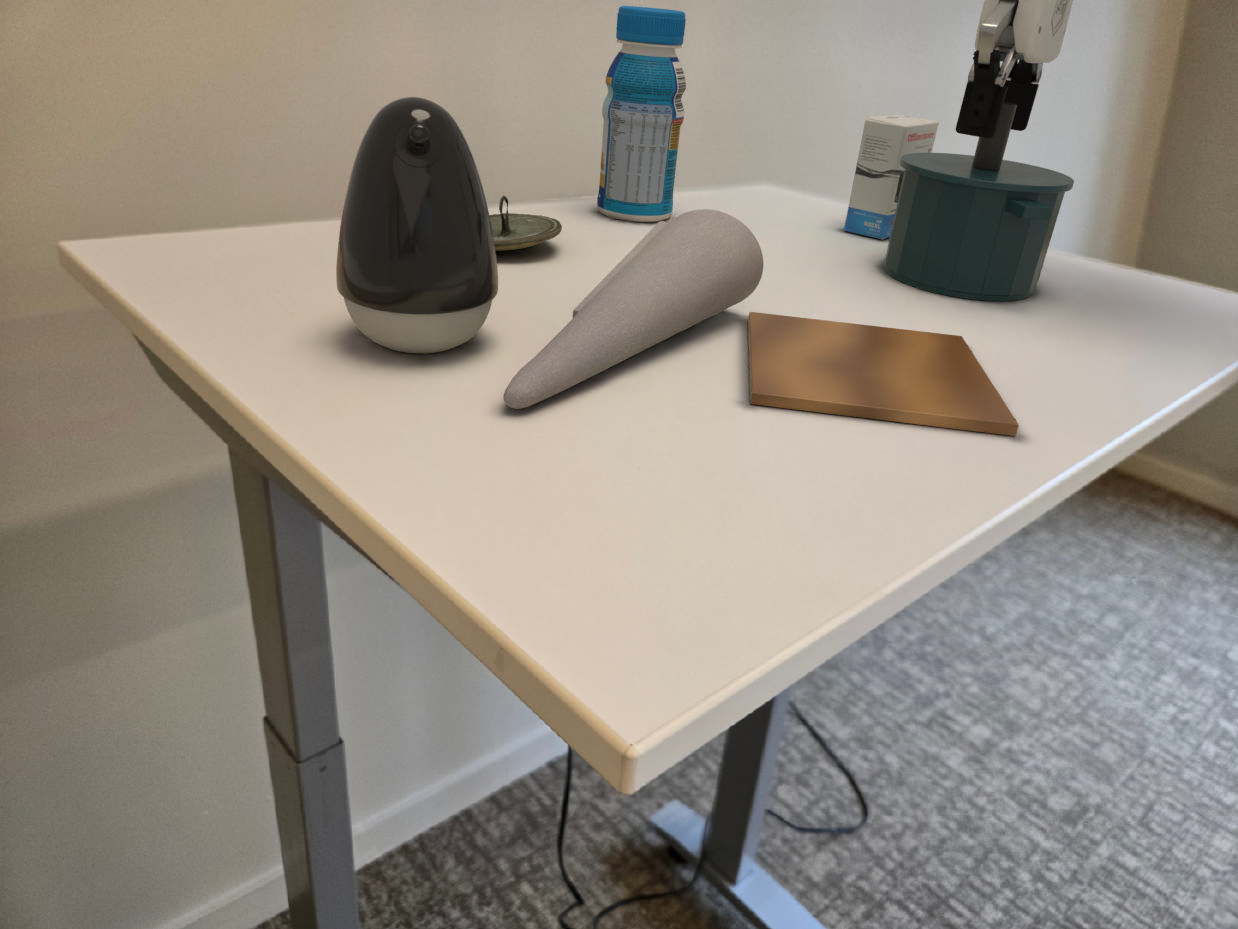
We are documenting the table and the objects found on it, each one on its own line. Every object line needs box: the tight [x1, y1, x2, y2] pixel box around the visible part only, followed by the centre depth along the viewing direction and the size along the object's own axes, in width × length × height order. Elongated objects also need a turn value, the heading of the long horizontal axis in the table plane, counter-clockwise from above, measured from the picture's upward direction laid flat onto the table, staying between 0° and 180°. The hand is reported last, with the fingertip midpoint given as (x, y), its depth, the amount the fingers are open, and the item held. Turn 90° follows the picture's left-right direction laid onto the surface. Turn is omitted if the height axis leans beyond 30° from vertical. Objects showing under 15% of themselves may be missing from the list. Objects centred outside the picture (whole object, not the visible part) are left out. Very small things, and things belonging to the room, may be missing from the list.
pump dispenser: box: [335, 96, 499, 355], centre depth 58 cm, size 10×10×15 cm
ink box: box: [843, 114, 940, 240], centre depth 100 cm, size 8×5×12 cm, turn 139°
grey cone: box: [502, 208, 764, 410], centre depth 61 cm, size 8×9×26 cm
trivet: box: [747, 311, 1020, 437], centre depth 63 cm, size 16×16×1 cm
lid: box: [489, 195, 563, 252], centre depth 83 cm, size 11×10×5 cm
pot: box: [883, 169, 1066, 302], centre depth 85 cm, size 14×19×10 cm
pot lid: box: [900, 102, 1075, 193], centre depth 81 cm, size 15×15×7 cm
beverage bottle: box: [596, 5, 687, 223], centre depth 95 cm, size 8×8×20 cm
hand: (991, 131), depth 81 cm, fingers open, 9 cm apart
